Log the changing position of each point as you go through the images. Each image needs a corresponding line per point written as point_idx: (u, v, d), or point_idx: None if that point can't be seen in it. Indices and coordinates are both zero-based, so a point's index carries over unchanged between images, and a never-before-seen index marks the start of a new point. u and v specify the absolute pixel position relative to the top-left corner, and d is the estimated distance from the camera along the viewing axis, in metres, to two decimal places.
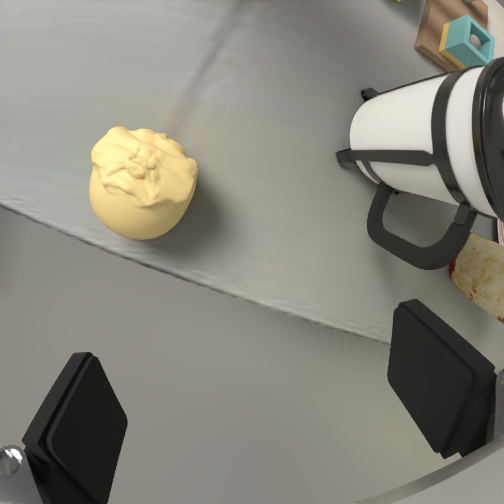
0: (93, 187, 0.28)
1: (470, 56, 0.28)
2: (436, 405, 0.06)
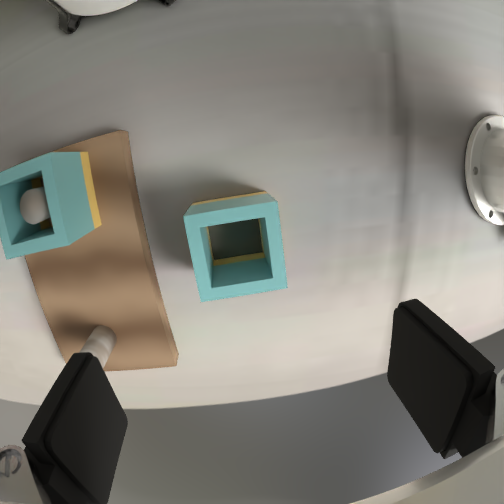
0: None
1: None
2: (436, 405, 0.06)
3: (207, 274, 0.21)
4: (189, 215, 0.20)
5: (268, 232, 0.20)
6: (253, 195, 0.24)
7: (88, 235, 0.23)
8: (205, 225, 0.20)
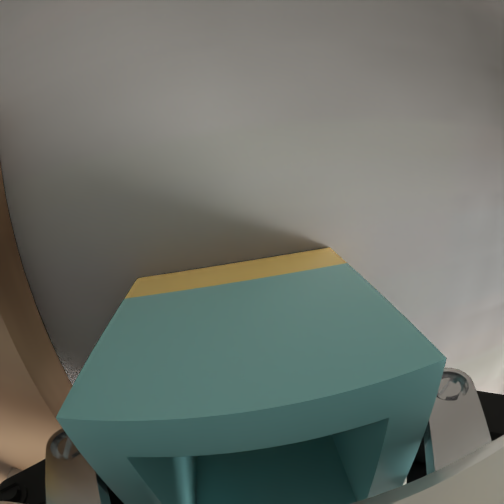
0: None
1: None
2: None
3: None
4: (78, 416, 0.04)
5: (385, 451, 0.04)
6: (307, 270, 0.08)
7: None
8: (146, 454, 0.04)
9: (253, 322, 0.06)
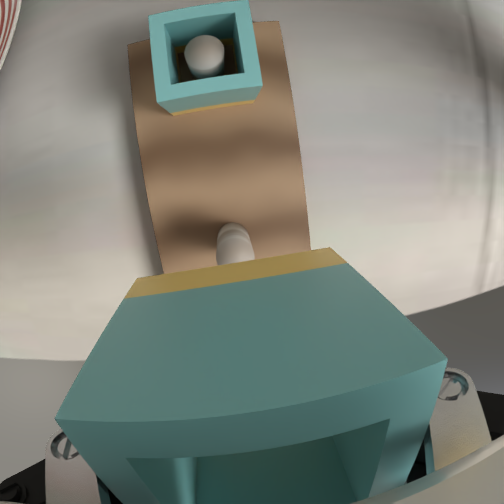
0: None
1: None
2: None
3: None
4: (76, 417, 0.04)
5: (386, 452, 0.04)
6: (307, 270, 0.08)
7: (235, 113, 0.22)
8: (146, 455, 0.04)
9: (253, 322, 0.06)
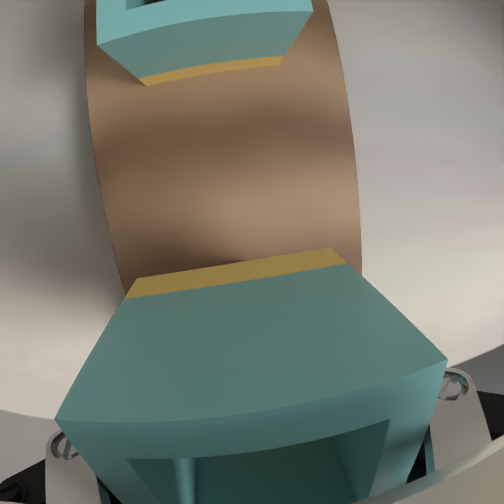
0: None
1: None
2: None
3: None
4: (76, 417, 0.04)
5: (386, 452, 0.04)
6: (307, 271, 0.08)
7: (249, 80, 0.12)
8: (146, 456, 0.04)
9: (253, 323, 0.06)
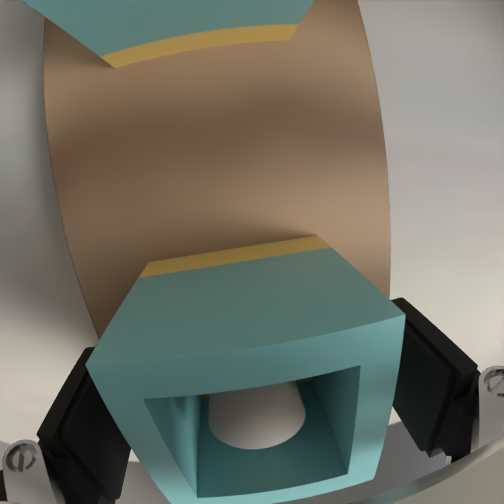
0: None
1: None
2: (420, 404, 0.06)
3: (184, 482, 0.06)
4: (104, 362, 0.05)
5: (361, 400, 0.06)
6: (296, 253, 0.09)
7: (249, 58, 0.09)
8: (160, 394, 0.05)
9: (249, 290, 0.07)
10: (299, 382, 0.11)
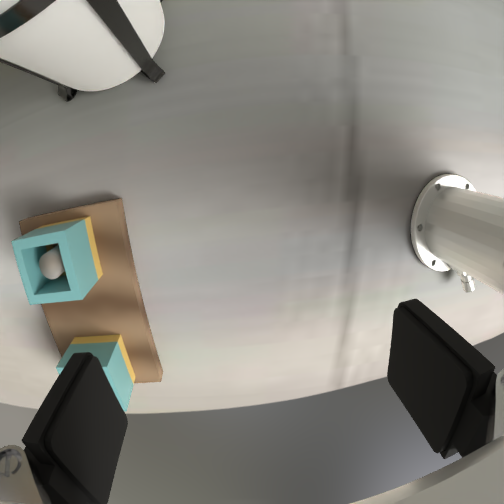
0: None
1: (45, 231, 0.23)
2: (436, 405, 0.06)
3: None
4: (59, 367, 0.25)
5: None
6: (108, 342, 0.30)
7: None
8: None
9: None
10: None
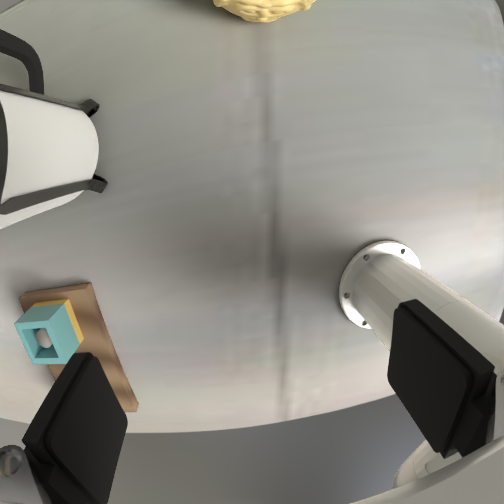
0: None
1: (37, 316, 0.31)
2: (436, 405, 0.06)
3: None
4: None
5: None
6: None
7: None
8: None
9: None
10: None
